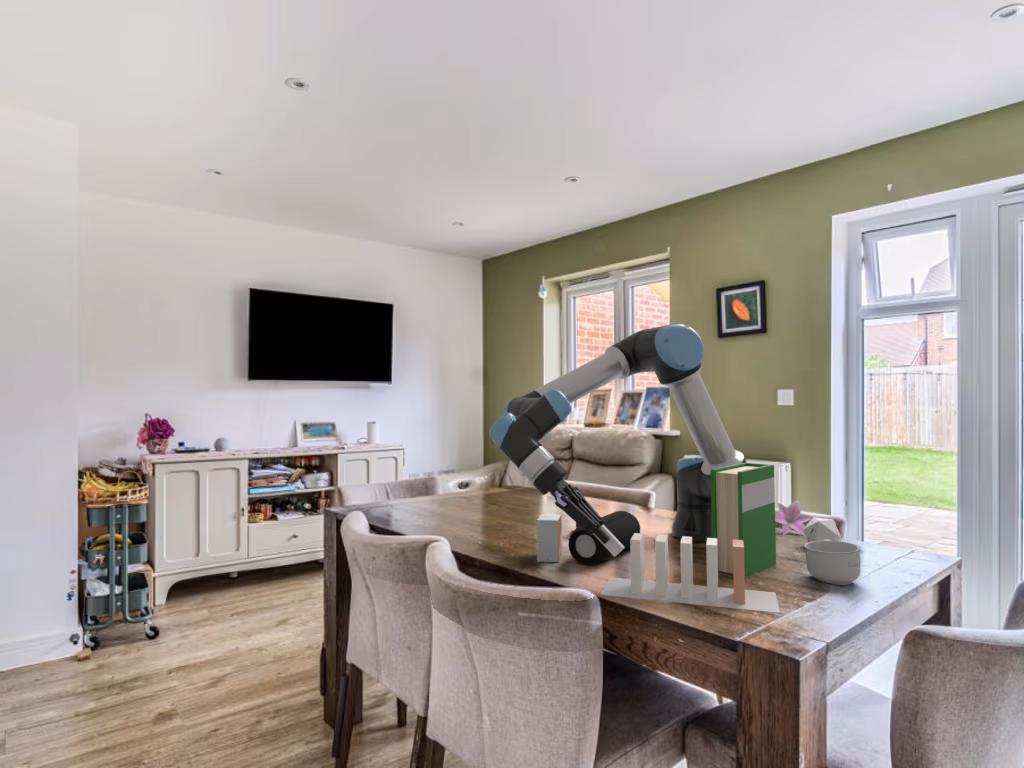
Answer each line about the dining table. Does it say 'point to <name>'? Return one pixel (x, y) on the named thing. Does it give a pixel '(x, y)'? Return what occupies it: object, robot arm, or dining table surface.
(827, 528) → the die
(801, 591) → the dining table surface
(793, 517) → the lily
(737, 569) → the domino
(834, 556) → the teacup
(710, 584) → the domino
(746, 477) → the hardback book
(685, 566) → the domino
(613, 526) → the portable speaker
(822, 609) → the dining table surface
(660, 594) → the domino
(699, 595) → the mat
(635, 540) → the domino
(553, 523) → the small box
